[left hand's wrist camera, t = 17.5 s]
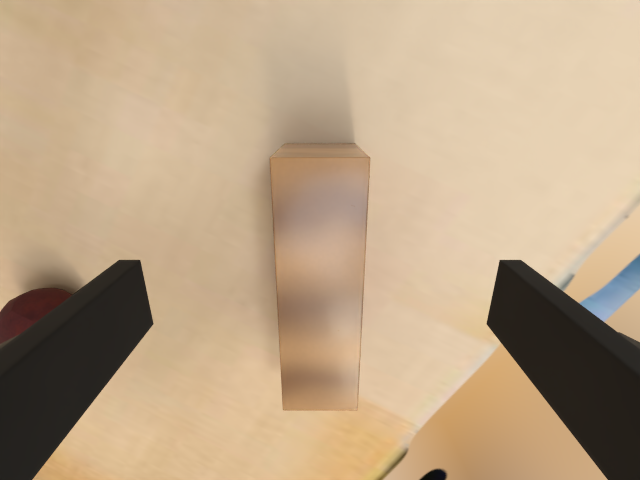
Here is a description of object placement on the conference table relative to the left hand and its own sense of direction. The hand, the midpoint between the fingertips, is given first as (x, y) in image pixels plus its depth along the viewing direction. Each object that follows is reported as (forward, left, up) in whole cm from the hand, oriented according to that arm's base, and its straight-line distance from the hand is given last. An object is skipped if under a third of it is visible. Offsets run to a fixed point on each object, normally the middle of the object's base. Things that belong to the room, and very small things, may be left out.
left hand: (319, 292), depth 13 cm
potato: (+33, +1, -23) cm, 41 cm away
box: (+3, +7, -23) cm, 25 cm away
